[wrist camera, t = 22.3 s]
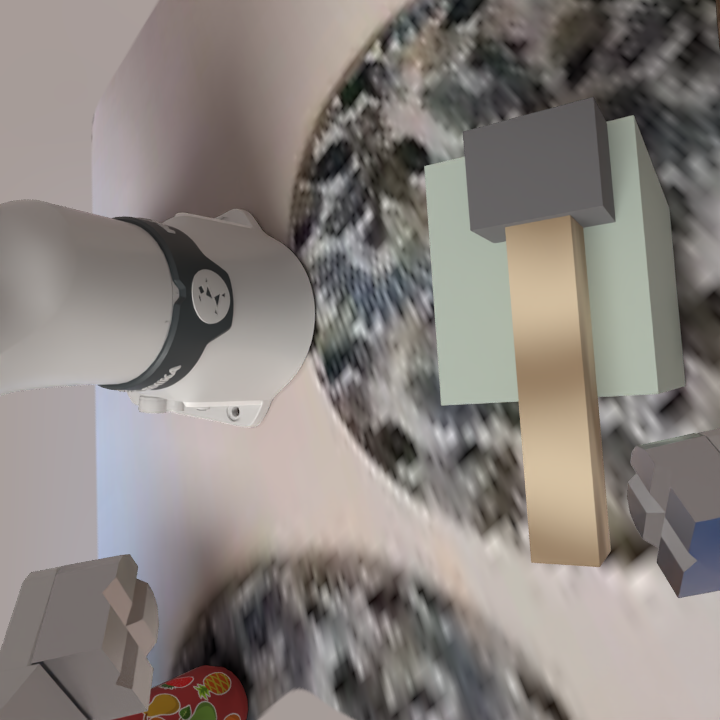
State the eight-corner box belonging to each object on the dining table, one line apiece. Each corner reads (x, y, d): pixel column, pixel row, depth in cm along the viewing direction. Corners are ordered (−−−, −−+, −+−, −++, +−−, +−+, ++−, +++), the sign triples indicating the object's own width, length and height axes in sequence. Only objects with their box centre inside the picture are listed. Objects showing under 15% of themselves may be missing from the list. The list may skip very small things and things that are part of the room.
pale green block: (538, 394, 45) (441, 405, 30) (525, 234, 45) (424, 166, 30) (685, 385, 40) (658, 394, 25) (669, 208, 41) (633, 114, 26)
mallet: (644, 552, 26) (635, 572, 23) (517, 545, 28) (495, 563, 25) (606, 124, 27) (593, 97, 24) (487, 153, 29) (463, 131, 26)
